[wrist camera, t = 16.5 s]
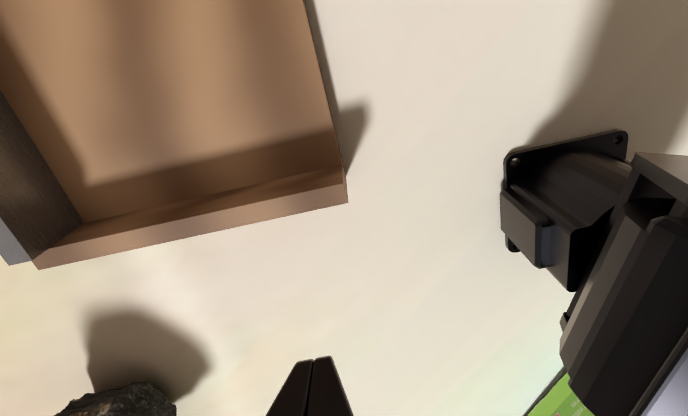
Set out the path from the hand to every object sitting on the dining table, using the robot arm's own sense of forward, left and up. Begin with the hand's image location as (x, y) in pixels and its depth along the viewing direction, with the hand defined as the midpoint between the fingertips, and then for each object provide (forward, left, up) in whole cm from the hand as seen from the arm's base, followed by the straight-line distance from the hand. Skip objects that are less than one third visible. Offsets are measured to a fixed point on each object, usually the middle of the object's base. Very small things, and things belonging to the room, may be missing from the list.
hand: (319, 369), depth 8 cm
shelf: (+7, -6, -12) cm, 16 cm away
